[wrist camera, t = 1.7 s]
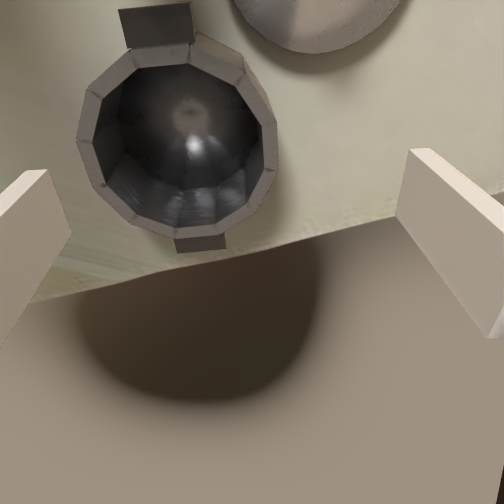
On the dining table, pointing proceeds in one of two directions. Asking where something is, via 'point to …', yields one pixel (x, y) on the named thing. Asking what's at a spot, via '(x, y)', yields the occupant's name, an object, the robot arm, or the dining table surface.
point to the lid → (315, 21)
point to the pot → (178, 131)
